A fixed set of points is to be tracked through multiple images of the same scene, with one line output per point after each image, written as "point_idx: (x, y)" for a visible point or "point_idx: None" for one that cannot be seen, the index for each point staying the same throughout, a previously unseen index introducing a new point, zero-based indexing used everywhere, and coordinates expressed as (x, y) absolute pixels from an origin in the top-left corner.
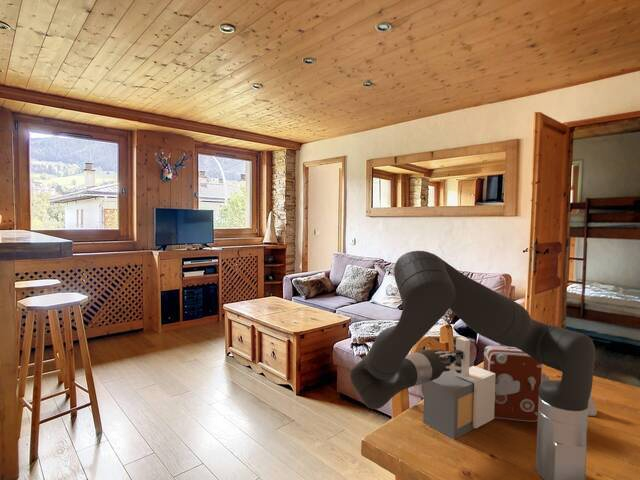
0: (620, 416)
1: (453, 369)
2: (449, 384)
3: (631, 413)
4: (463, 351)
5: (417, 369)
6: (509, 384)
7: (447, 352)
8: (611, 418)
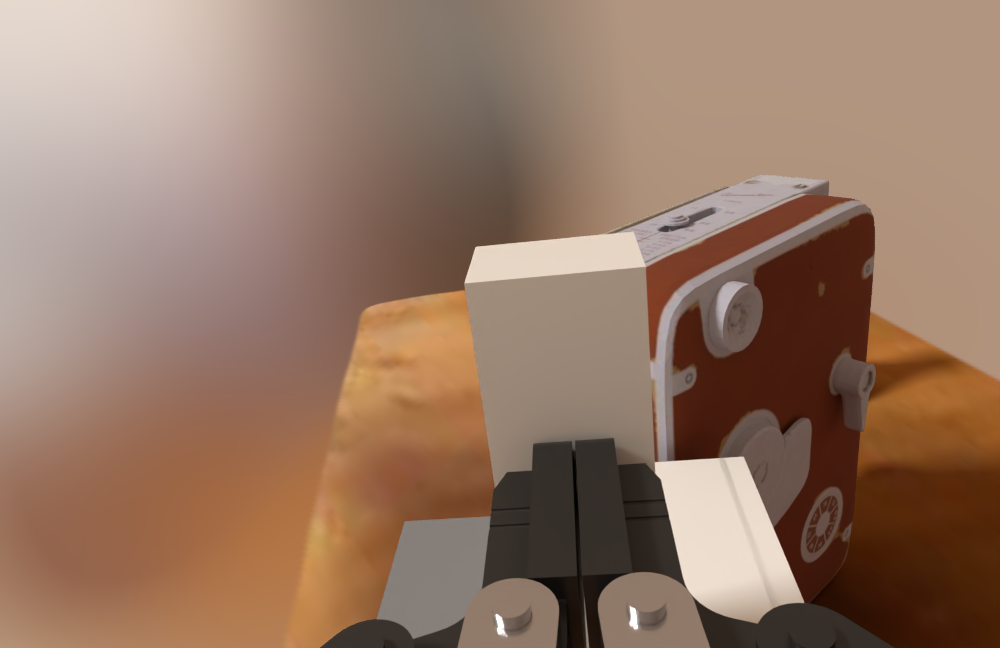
0: (890, 349)
1: (415, 615)
2: None
3: (882, 323)
4: (618, 432)
5: None
6: (775, 470)
7: (517, 642)
8: (895, 370)
